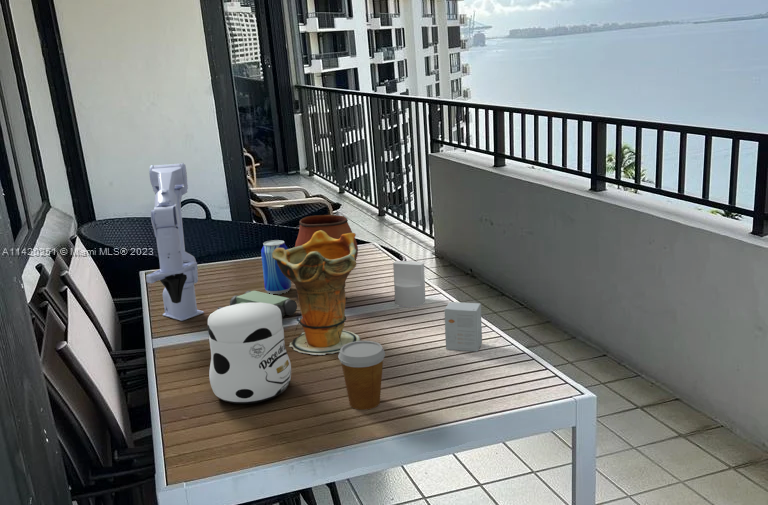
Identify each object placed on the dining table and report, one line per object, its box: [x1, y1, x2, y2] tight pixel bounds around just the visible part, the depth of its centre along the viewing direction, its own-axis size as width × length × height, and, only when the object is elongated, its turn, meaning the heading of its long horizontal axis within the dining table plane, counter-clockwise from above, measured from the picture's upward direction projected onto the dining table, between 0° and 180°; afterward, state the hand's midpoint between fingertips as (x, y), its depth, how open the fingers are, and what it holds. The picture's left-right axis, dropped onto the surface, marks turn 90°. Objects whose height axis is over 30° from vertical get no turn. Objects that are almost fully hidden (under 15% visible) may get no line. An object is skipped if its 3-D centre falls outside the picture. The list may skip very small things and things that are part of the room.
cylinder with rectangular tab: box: [392, 260, 426, 308], centre depth 200 cm, size 9×9×12 cm
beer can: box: [260, 239, 292, 295], centre depth 216 cm, size 8×8×16 cm
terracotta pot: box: [294, 214, 359, 262], centre depth 205 cm, size 19×19×25 cm
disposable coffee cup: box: [337, 340, 386, 411], centre depth 140 cm, size 10×10×12 cm
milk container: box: [207, 302, 292, 405], centre depth 146 cm, size 17×17×18 cm
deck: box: [229, 290, 298, 319], centre depth 197 cm, size 18×14×4 cm
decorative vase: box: [272, 230, 361, 356], centre depth 171 cm, size 21×23×28 cm
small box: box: [443, 301, 483, 353], centre depth 166 cm, size 8×6×10 cm
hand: (176, 302), depth 180 cm, fingers closed
